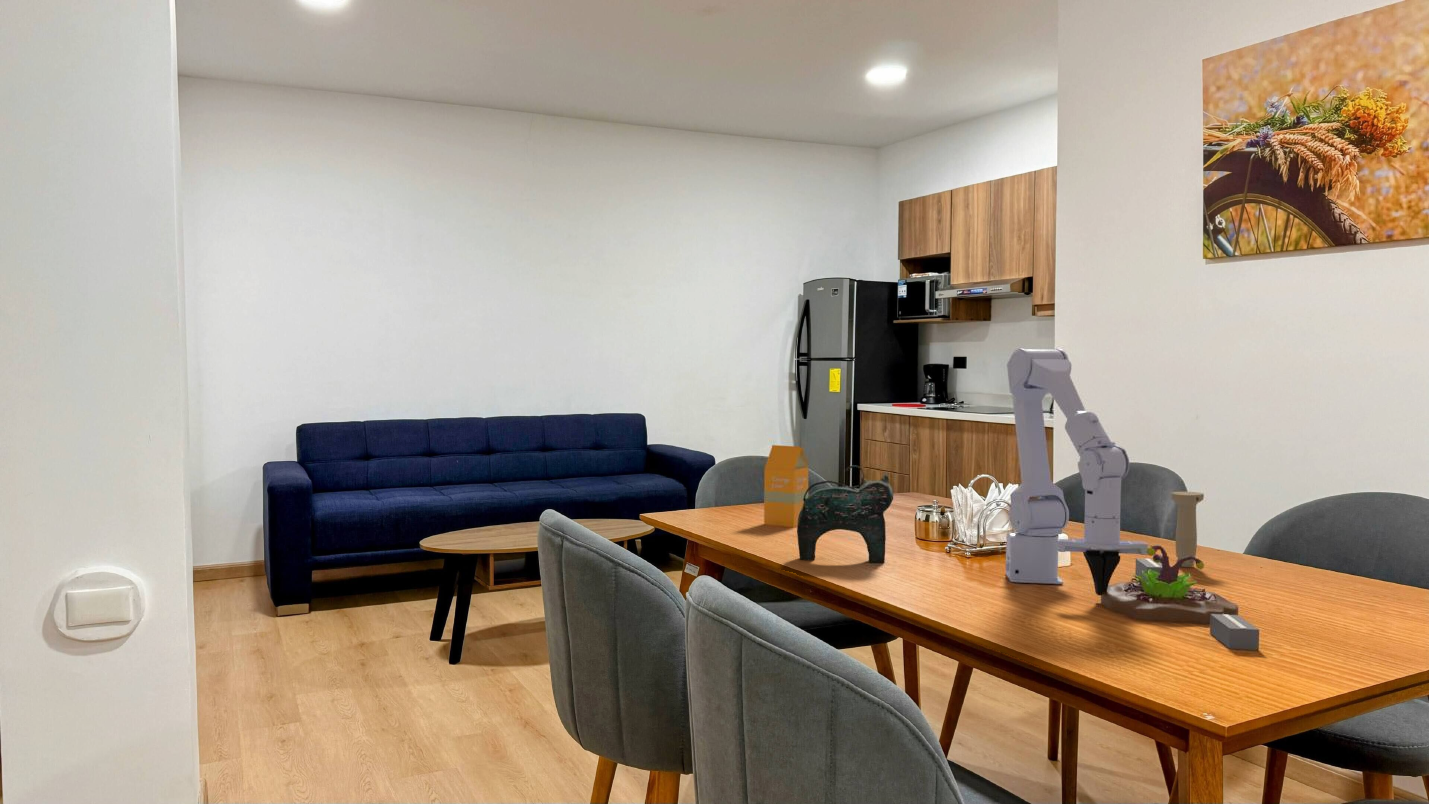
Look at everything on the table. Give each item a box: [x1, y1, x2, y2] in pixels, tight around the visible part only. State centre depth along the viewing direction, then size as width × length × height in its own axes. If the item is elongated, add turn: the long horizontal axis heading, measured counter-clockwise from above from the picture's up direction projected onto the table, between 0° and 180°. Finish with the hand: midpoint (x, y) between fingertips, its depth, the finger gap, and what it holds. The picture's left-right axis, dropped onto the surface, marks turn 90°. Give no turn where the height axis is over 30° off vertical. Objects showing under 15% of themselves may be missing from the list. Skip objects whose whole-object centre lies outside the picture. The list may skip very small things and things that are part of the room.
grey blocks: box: [1134, 558, 1260, 651], centre depth 163 cm, size 4×50×3 cm, turn 171°
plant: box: [1100, 545, 1239, 626], centre depth 161 cm, size 20×20×11 cm
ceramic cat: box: [796, 465, 894, 564], centre depth 199 cm, size 20×6×20 cm, turn 80°
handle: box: [1170, 491, 1205, 569], centre depth 194 cm, size 5×6×15 cm
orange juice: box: [763, 444, 810, 528], centre depth 244 cm, size 8×9×20 cm
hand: (1100, 594), depth 165 cm, fingers closed
